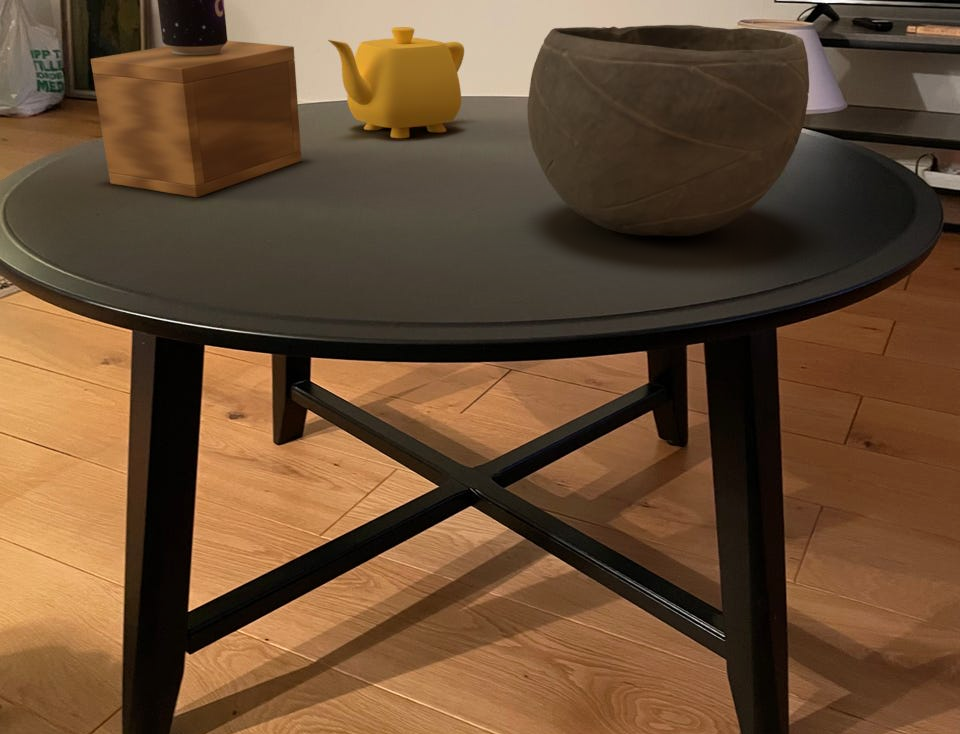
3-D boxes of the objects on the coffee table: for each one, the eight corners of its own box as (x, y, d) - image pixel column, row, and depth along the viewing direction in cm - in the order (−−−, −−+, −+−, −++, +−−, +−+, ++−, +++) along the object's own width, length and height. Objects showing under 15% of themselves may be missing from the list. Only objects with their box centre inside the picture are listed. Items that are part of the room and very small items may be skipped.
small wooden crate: (110, 183, 94) (90, 58, 88) (221, 149, 106) (209, 38, 101) (197, 197, 90) (181, 68, 85) (301, 161, 103) (294, 46, 97)
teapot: (361, 149, 108) (357, 39, 102) (306, 131, 115) (299, 28, 110) (492, 128, 118) (494, 27, 113) (433, 113, 125) (432, 18, 120)
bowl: (835, 232, 84) (872, 35, 77) (670, 287, 71) (696, 58, 64) (638, 182, 97) (654, 10, 90) (472, 221, 85) (474, 25, 78)
